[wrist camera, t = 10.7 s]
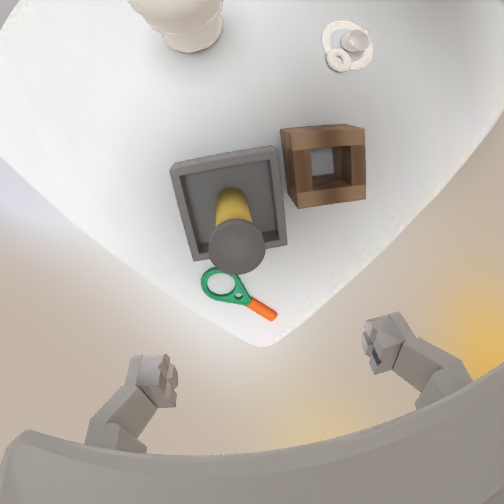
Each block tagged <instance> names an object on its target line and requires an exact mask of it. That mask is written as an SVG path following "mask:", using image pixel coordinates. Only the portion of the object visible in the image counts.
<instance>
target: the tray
mask: <svg viewBox="0 0 504 504" xmlns="http://www.w3.org/2000/svg"><path fill="white" fill-rule="evenodd" d="M170 175H171V179H172V183H173V187H174V191H175V195H176V199H177V203H178V207H179V211H180V214H181V218H182V222H183V226H184V229H185V233H186V236H187V240H188V244H189V247H190V251H191V254H192V258H193V261H200V260H206V259H210V257H209V239H210V235H211V233H212V231H213V230H214V228H215V227H216V204H217V196H218V194H219V193H220V192H221V191H222V190H223V189H225V188H228V187H235V188H238V189H240V190H241V191H243V193H244V194H245V196H246V200H247V204H248V207H249V211H250V215H251V219H252V223H253V224H255V225H256V226H257V227H258V228H259V230H260V231H261V233H262V236H263V240H264V243H265V249H268V248H274V247H279V246H285V245H287V235H286V224H285V214H284V204H283V195H282V186H281V177H280V168H279V160H278V152H277V150H276V149H275V148H274V147H273V146H265V147H258V148H252V149H245V150H239V151H233V152H227V153H222V154H217V155H211V156H206V157H201V158H196V159H192V160H187V161H182V162H178V163H174V165H173V166H172V167H171V169H170Z"/></svg>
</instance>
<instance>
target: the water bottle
mask: <svg viewBox="0 0 504 504" xmlns="http://www.w3.org/2000/svg"><path fill="white" fill-rule="evenodd" d="M128 2H129V4H130V5H131V7H132V8H133V9H134V10H135V11H136V12H137V13H139V14H141V15H142V16H143V17H144V18H145V20H146V22H147V23H148V24H149V25H150V26H151V27H152V28H153V29H154V30H155V31H157V32H160V33H161V35H162V37H163V39H164V41H165V42H166V43H167V44H168V45H169V46H170V47H171V48H173V49H175V50H177V51H180V52H187V53H193V52H196V51H199V50H202V49H205V48H208V47H209V46H211V45H212V44H213V43H214V42H215V41H216V40H217V39H218V37H219V35H220V33H221V31H222V17H221V15H220V12H221V10H222V6H223V0H128Z"/></svg>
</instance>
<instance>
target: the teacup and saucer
mask: <svg viewBox="0 0 504 504" xmlns="http://www.w3.org/2000/svg"><path fill="white" fill-rule="evenodd" d="M341 28H347V29H351V30H352V31H350V32H348V33H347V34H345V35H344V36H343V37H342V39H341V45H342V47H343V48H344V49H345V50H347V51H351V52H357V51H363V50H365V53H364V55H363V57H362V58H361V59H359V60H358V61H354V62H352V61H351V58H350V56H349V54H348V53H347V52H346V51H345V50H343V49H341V48H332V47H331V43H330V39H331V36H332V34H333V32H334V31H336V30H338V29H341ZM368 33H369V31H368V30H367V29H365V30H363V29H362V28H361V27H360V26H358V25H357V24H355V23H352V22H350V21H345V20H338V21H334V22H331V23H330V24H328V25H327V26H326V27H325V29H324V30H323V33H322V37H321V41H322V46H323V49H324V51H325V53H326V55H327V56H326V59H327V62H328V64H329V66H330V67H331V68H332V69H334V70H335V71H338V72H345V71H347V70H359V69H362V68H364V67H366V66H367V65H368V64H369V63H370V61H371V59H372V57H373V45H372V42H371V39H370V37H369V36H368ZM350 40H351V41H352V43H353V45H352V44H351V42H350ZM339 56H340V57H341V58H342V59H341V58H340V57H339Z"/></svg>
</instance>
